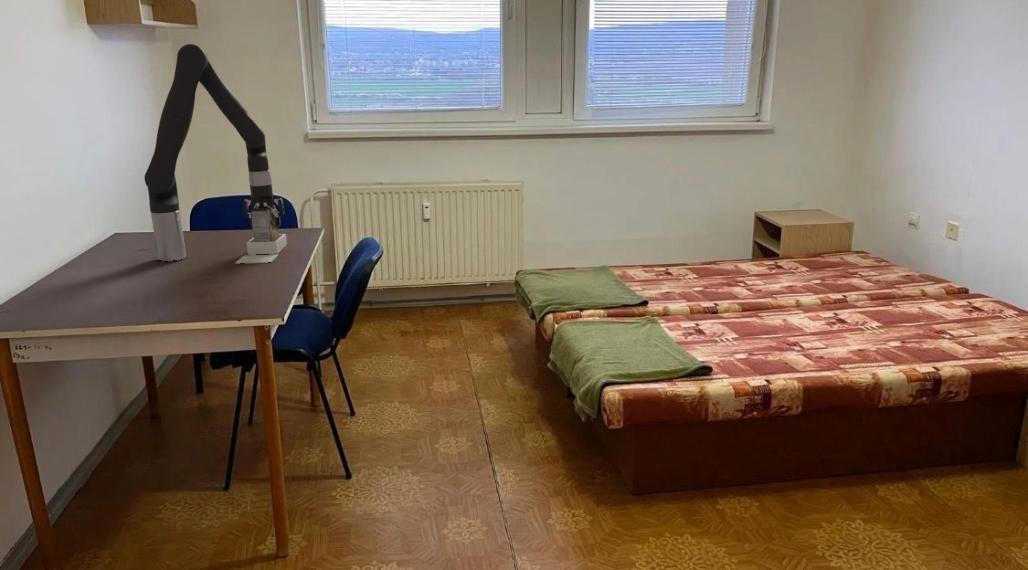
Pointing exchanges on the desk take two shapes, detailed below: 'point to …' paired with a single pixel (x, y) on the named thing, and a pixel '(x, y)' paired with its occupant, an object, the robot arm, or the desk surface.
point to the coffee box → (264, 225)
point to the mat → (256, 259)
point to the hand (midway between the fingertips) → (266, 227)
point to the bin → (267, 246)
